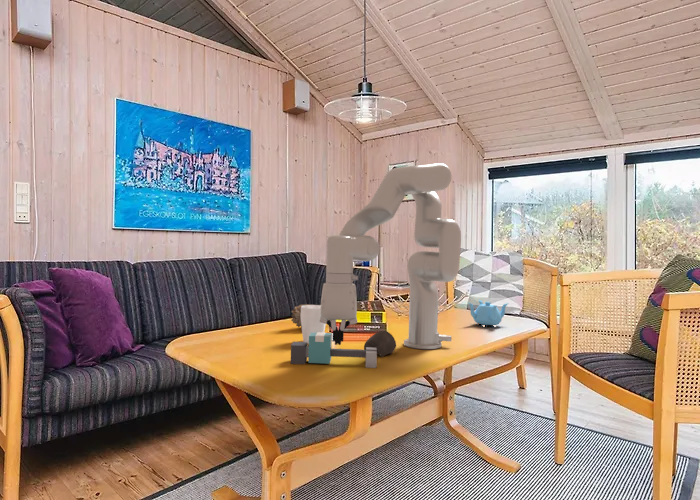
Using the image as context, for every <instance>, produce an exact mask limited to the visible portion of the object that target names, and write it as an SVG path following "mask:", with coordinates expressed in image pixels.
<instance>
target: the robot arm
mask: <svg viewBox="0 0 700 500" xmlns="http://www.w3.org/2000/svg"><path fill="white" fill-rule="evenodd" d="M452 177H453V176H452V171H451V169H450V167H449V166H448V165H447V164H445V163H441V162H439V163H429V164H422V165H421V164H419V165H410V166H409V165H408V166H402V167H401V166H400V167H395V168H392V169H390V170H389V171H388V172H386V174H385V176H384V177H383V179H382V181H381V182H380V184H379V186H378V188H377V189H376V191H375V193H374V194H373V196H372V198H371V199H370V201H369V202H368V204H367V205H366V206H363V207H361V209H360V210H359V211H358V212H357V213H355V214H354V215H353V216H352V217H351V218H349V220H348V221H347V222H346V223H345V224H344V226H343V228H342V230H341V231H340V233H339V234H338V235H335V234H334V235H330V236H328V237H327V239H326V266H325V269H326V272H325V274H326V275H325V282H324V283H323V284H322V289H321V290H322V291H321V298H320V305H321V317H320V320H319V321H320V322H321V323H324V324H326V325H327V326H328V327H329V328H330V329H331V330H332V342H334V345H336V346H337V345H338V346H341V344H342V342H344V331H345V330H346V329H347V327H348V326H351V325H356V324H358V319H357V317H358V316H357V313H358V301H357V300H358V299H357V297H358V296H357V295H358V294H357V287H356V284H355V283H353V282H354V281H355V282H356V281H358V280H359V275H355V274H354V261H355V262H356V261H357V262H370V261H373V260H375V258H377V257H378V256H379V254H380V250H381V246H380V243H379V241H378V240H377V239H376V238H375V237H373V236H370V235H365V234H367V233H368V232H369V231H370V230H372V229H374V228H376V227H378V226H380V225H382V224H385V223H387V222H388V221H391V220H392V219H393V218H394V217H395V215H396V213H397V211H398V210H399V208H400V206H401V204H402V202H403V200H404V198H405V197H406V196H407V195H411V196H412V197H413V199H414V203H415V220H414V241H415V243H416V245H417V246H419V247H421V248H429V249H431V248H432V249H435V248H436V249H438V251H426V250H425V251H424V250H423V251H417V252H414V253H412V254H411V255H409V258H408V259H407V265H406V266H407V273H408V274H407V275H408V280H409V306H408V307H409V308H408V309H409V311H408V312H409V313H408V318H409V319H408V338H406V339H404V340H403V346H405V347H408V348H411V349H418V350H436V349H439V348H441V347H443V346H442V344H443V343H442V342H452V335H447V334H440V333H439V331H438V317H439V291H438V287H437V285H436V283H435V282H440V283H441V282H443V283H450V282H453V281H454V280H455V279H456V278H457V276H458V274H459V269H460V258H461V245H462V232H461V228H460V225H459V223H457V221H456V220H453V219H450V218H442V202H441V199H440V196H439V195H438V194H437V192H439V191H443V190H446V189H447V188H448V187H449V185H450V184H451V183H452ZM337 320H338V321H340V326H339V327H338V326H337Z"/></svg>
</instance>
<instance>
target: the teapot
mask: <svg viewBox="0 0 700 500" xmlns="http://www.w3.org/2000/svg"><path fill="white" fill-rule="evenodd" d="M478 302H479V305H478V306H477V307H476V309H475V308H474V304H473V303H471V302H468V304H469V306H470V316H471V317H472V318H473V321H474V323H477V324H478V323H479V324H482V325H486V326H492V325H497V326H498V325H499V324H500V323H501V322H502V320H503V318H504V316H505V314H506V307H507V306H508V305H509V303H507V302H506V303H504V304H503V305H502V306H501V310H500V309H499V308H498V307H497V306H498V305H495V304H491V301H485V302H484V303H483V300H481V299H478ZM482 325H481V326H482Z"/></svg>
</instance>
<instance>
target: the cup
mask: <svg viewBox="0 0 700 500" xmlns="http://www.w3.org/2000/svg"><path fill="white" fill-rule="evenodd" d="M303 305H304V306H301V314H300V317H301V326H302V328H301V333H302V342H307V345H309V335H310V333H311V332H312V333H317V332H324V333H325V330H326V325H327V324H324V323H321V322H320V321H319V320H320V317H321V304H309V305H305V304H303ZM301 326H300V327H301Z"/></svg>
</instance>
